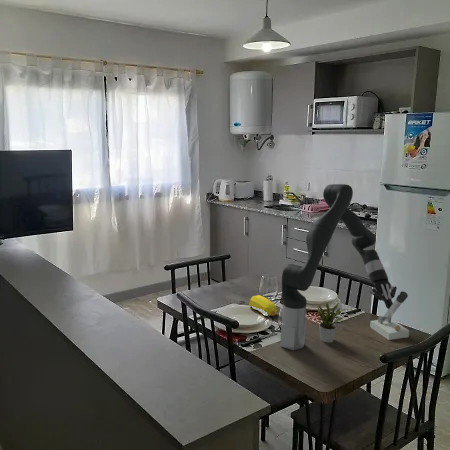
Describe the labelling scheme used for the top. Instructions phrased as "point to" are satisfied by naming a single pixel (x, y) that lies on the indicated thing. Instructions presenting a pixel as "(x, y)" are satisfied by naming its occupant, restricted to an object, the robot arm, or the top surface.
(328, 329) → the house plant
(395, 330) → the press base
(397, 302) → the press lever
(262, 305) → the yellow curved elongated piece
